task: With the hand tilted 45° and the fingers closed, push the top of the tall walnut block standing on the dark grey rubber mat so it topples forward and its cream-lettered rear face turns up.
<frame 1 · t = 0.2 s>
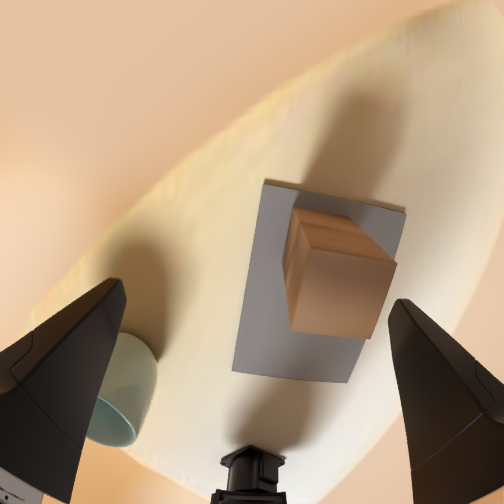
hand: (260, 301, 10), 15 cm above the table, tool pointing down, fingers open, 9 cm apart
mat: (313, 299, 27), on the table
cup: (131, 351, 30), on the table
block: (315, 238, 24), resting on mat
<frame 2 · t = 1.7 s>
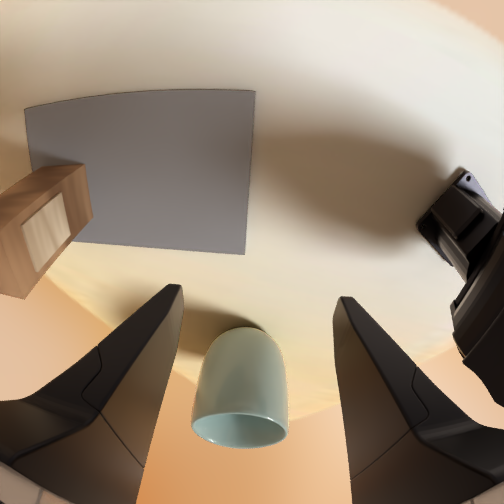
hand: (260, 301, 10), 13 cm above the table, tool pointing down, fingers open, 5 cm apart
mat: (126, 173, 21), on the table
cup: (246, 340, 30), on the table
block: (66, 191, 21), resting on mat
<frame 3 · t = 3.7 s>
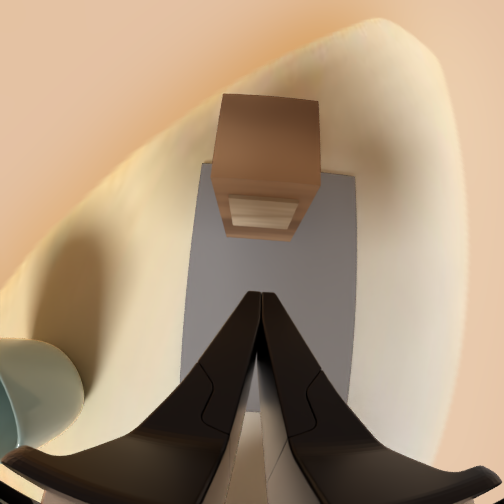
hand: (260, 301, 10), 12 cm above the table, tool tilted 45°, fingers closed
mat: (273, 287, 22), on the table
cup: (59, 382, 20), on the table
block: (260, 209, 23), resting on mat
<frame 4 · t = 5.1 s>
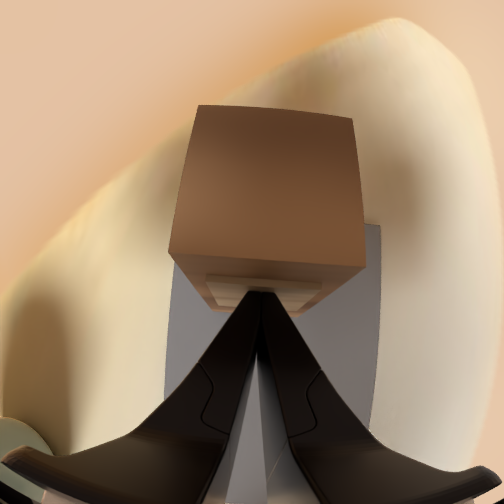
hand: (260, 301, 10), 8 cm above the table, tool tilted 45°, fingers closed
mat: (273, 373, 16), on the table
cup: (34, 453, 15), on the table
block: (258, 273, 17), point 1 cm above the table, tilted 6°, touching mat
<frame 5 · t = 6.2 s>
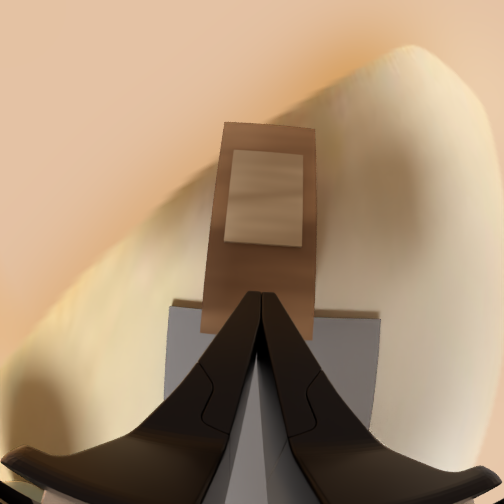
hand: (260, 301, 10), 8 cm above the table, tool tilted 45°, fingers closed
mat: (265, 461, 15), on the table
block: (255, 336, 14), point 3 cm above the table, tilted 93°, touching mat
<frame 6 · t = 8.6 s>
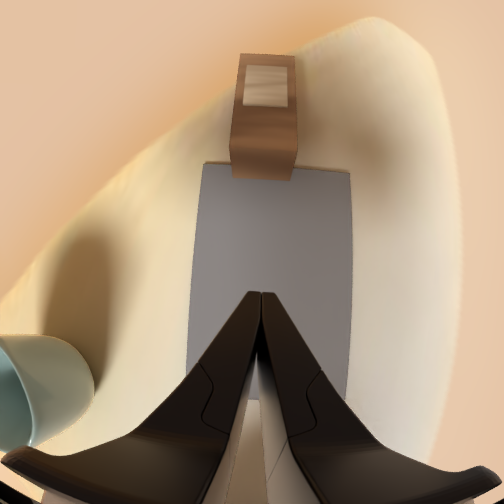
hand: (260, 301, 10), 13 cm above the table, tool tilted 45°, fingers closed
mat: (272, 280, 23), on the table
cup: (70, 376, 22), on the table
block: (262, 165, 22), point 3 cm above the table, tilted 93°, touching mat
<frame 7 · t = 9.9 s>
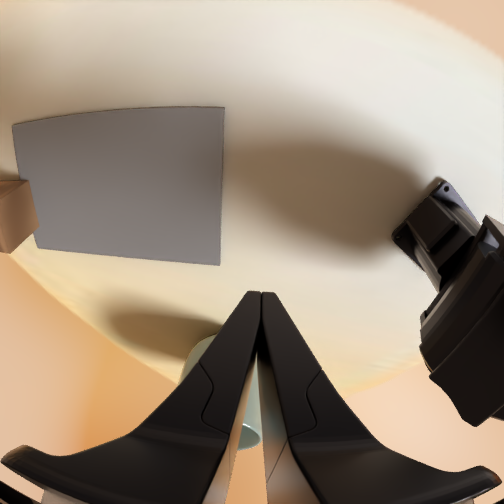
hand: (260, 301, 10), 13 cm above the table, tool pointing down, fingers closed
mat: (106, 188, 22), on the table
cup: (227, 346, 31), on the table
block: (18, 216, 20), point 3 cm above the table, tilted 93°, touching mat
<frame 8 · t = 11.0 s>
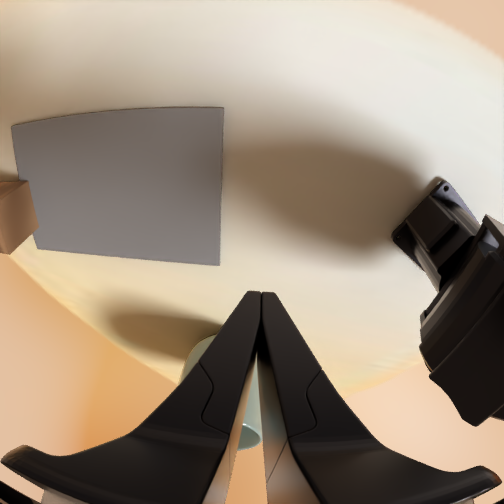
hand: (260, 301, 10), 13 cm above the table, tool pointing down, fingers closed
mat: (105, 188, 22), on the table
cup: (227, 346, 31), on the table
block: (18, 216, 20), point 3 cm above the table, tilted 93°, touching mat
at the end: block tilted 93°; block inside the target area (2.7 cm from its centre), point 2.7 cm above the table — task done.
